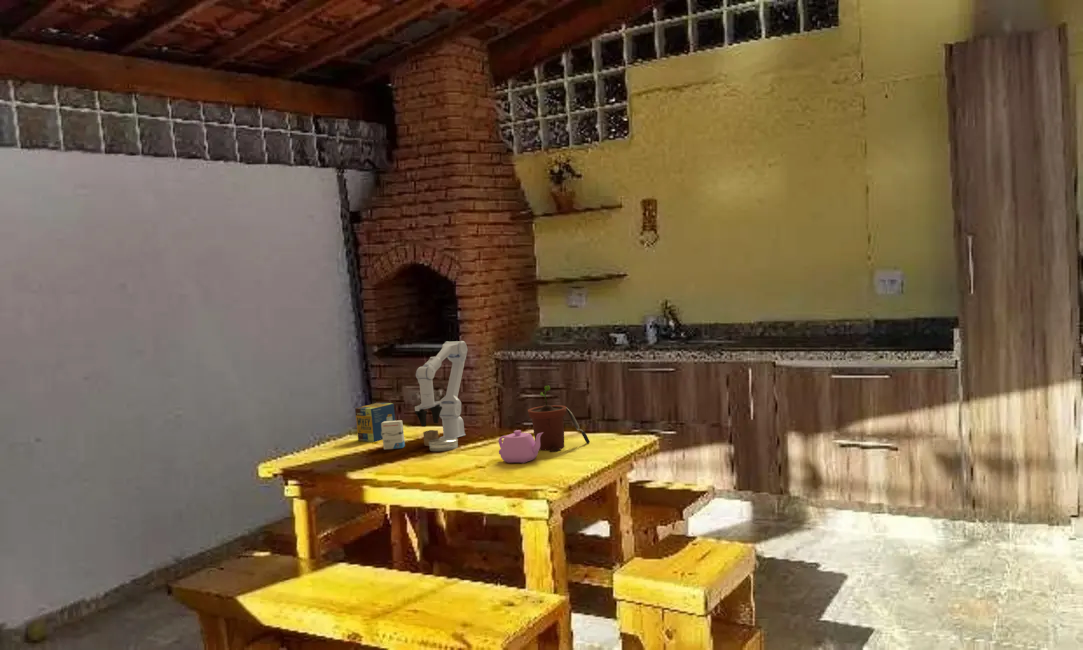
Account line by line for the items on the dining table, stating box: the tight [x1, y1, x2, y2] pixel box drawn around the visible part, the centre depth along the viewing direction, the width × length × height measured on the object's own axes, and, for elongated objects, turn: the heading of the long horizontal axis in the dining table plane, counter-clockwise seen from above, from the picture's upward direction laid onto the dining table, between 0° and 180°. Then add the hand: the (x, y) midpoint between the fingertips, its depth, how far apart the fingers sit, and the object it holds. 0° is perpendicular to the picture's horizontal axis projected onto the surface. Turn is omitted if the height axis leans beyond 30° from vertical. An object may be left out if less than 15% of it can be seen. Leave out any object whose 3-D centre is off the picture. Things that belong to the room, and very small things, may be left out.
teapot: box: [498, 429, 544, 464], centre depth 339 cm, size 20×13×12 cm, turn 65°
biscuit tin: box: [428, 437, 459, 452], centre depth 377 cm, size 12×12×4 cm
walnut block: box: [422, 429, 440, 447], centre depth 387 cm, size 4×4×6 cm
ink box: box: [381, 419, 406, 450], centre depth 386 cm, size 8×5×12 cm, turn 84°
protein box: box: [354, 402, 396, 443], centre depth 413 cm, size 10×15×16 cm
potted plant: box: [527, 385, 590, 453], centre depth 359 cm, size 18×22×25 cm
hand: (429, 424), depth 386 cm, fingers open, 7 cm apart
